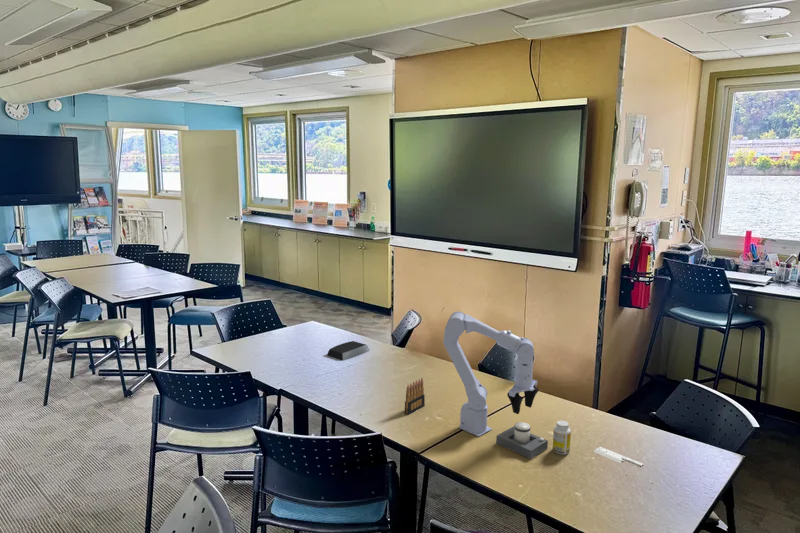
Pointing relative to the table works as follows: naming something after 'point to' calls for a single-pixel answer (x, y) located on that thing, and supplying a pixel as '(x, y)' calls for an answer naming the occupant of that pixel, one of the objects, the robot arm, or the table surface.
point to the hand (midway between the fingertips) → (522, 409)
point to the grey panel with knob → (526, 450)
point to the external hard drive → (348, 350)
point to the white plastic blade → (614, 456)
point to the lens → (522, 433)
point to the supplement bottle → (561, 437)
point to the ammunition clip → (414, 397)
